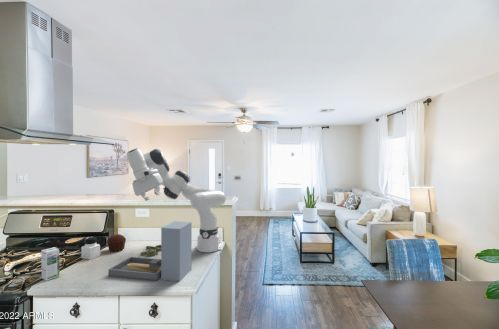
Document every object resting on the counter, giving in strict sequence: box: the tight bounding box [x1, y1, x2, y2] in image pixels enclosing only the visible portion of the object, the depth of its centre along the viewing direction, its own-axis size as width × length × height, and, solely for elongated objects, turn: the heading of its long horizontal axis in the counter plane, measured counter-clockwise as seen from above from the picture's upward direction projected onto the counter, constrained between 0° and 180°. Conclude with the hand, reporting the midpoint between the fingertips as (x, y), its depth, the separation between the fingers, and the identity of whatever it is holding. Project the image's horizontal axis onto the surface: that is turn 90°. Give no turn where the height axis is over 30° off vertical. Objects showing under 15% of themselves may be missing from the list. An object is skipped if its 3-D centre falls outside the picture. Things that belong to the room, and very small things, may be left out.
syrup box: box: [40, 246, 61, 282], centre depth 130 cm, size 6×6×14 cm
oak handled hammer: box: [127, 258, 161, 272], centre depth 138 cm, size 5×18×6 cm, turn 79°
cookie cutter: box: [140, 244, 161, 258], centre depth 168 cm, size 18×12×2 cm, turn 6°
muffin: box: [106, 233, 127, 253], centre depth 170 cm, size 12×11×10 cm
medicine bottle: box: [80, 236, 101, 260], centre depth 158 cm, size 7×7×12 cm
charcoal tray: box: [107, 256, 161, 282], centre depth 138 cm, size 18×27×4 cm, turn 79°
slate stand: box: [160, 220, 193, 282], centre depth 134 cm, size 14×10×26 cm
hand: (152, 197), depth 146 cm, fingers open, 8 cm apart
